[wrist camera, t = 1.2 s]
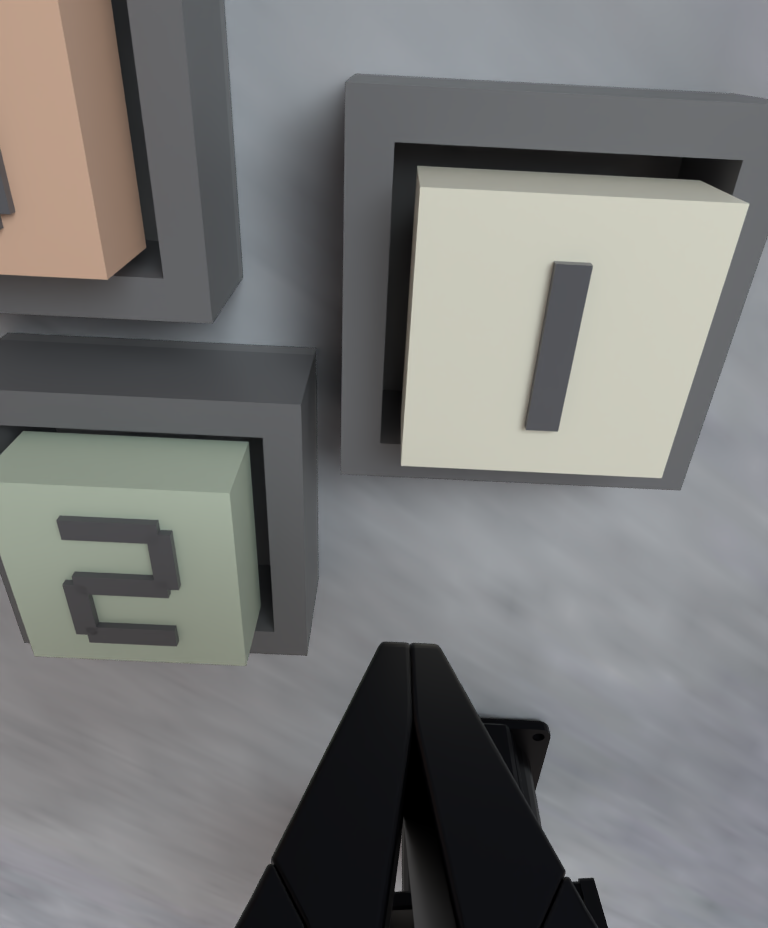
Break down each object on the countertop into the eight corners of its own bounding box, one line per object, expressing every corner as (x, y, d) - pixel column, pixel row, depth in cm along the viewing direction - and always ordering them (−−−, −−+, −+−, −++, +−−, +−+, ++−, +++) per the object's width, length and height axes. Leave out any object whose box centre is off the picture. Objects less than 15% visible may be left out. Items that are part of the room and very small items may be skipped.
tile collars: (591, 591, 25) (618, 669, 21) (16, 564, 24) (-39, 639, 21) (796, -128, 14) (908, -175, 11) (-230, -185, 14) (-410, -249, 11)
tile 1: (630, 427, 17) (664, 483, 15) (400, 415, 17) (400, 470, 15) (699, 180, 14) (754, 206, 12) (417, 165, 14) (420, 189, 12)
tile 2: (261, 605, 21) (245, 671, 19) (69, 597, 21) (31, 661, 19) (248, 441, 18) (227, 498, 16) (23, 430, 18) (-30, 485, 16)
